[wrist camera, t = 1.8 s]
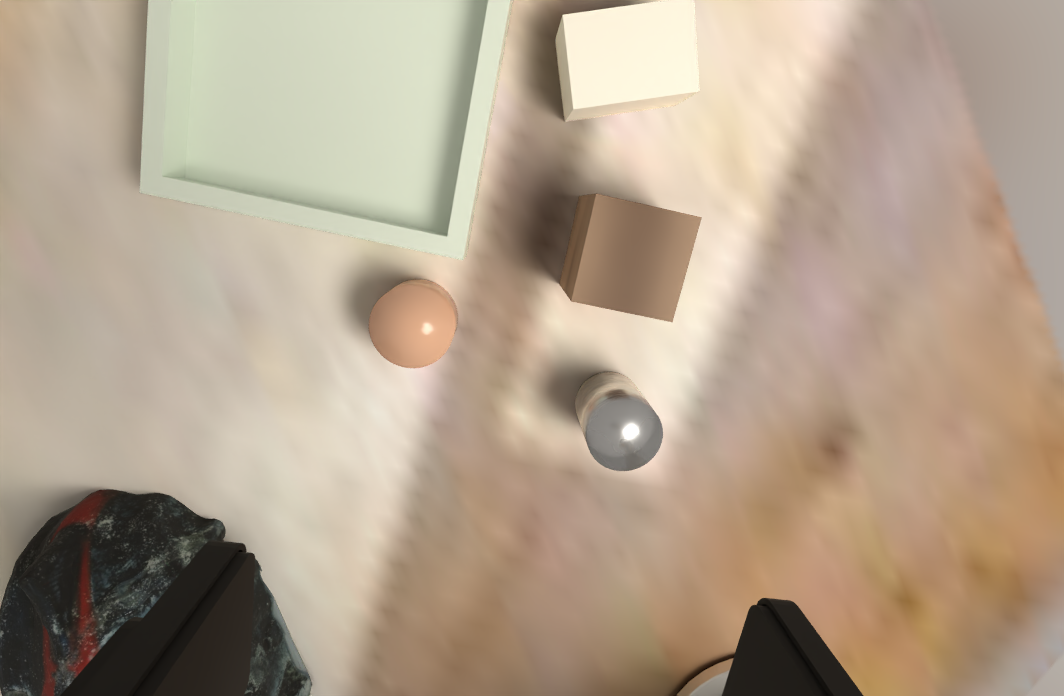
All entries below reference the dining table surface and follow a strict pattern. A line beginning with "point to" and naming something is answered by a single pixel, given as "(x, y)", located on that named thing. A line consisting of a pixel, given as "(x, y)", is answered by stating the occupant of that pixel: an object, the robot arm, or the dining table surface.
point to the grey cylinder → (617, 422)
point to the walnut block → (628, 256)
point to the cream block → (627, 58)
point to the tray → (325, 112)
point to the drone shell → (118, 593)
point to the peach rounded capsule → (413, 323)
